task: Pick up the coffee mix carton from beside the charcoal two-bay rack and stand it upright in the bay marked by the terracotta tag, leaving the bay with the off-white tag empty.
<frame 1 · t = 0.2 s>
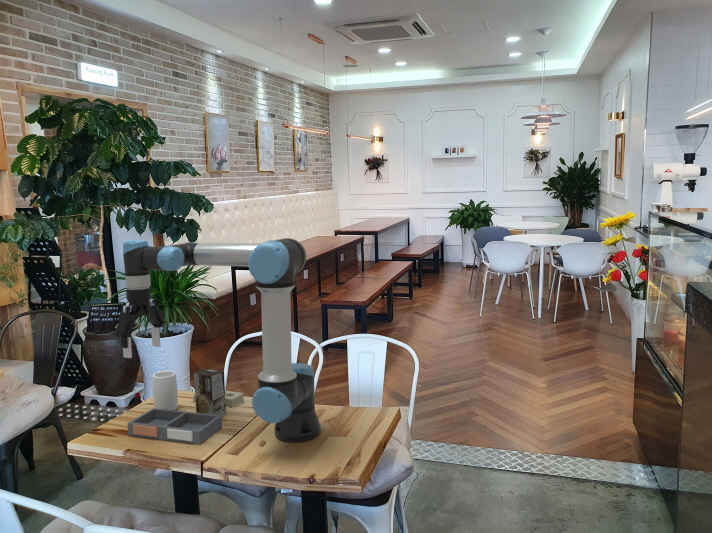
hand: (142, 351, 184), 28 cm above the table, tool pointing down, fingers open, 13 cm apart
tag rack: (175, 431, 188), on the table
electrical outlet: (218, 403, 214), on the table
cup: (166, 411, 206), on the table
coffee box: (211, 415, 202), on the table
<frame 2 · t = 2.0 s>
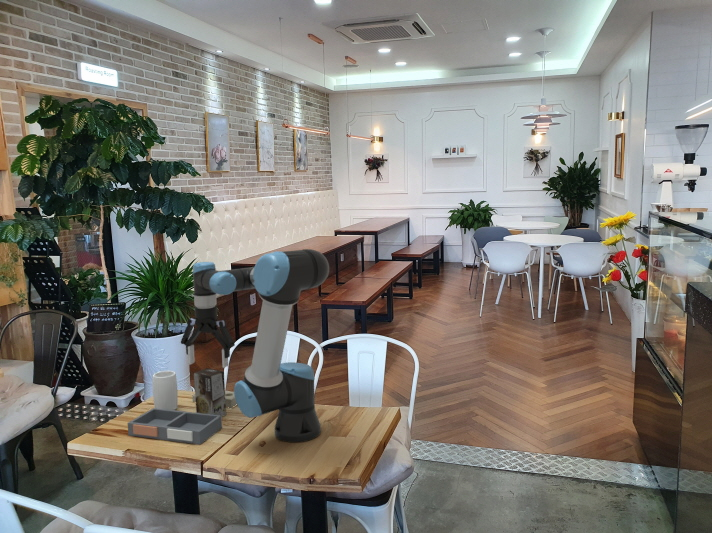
hand: (208, 365, 200), 18 cm above the table, tool pointing down, fingers open, 13 cm apart
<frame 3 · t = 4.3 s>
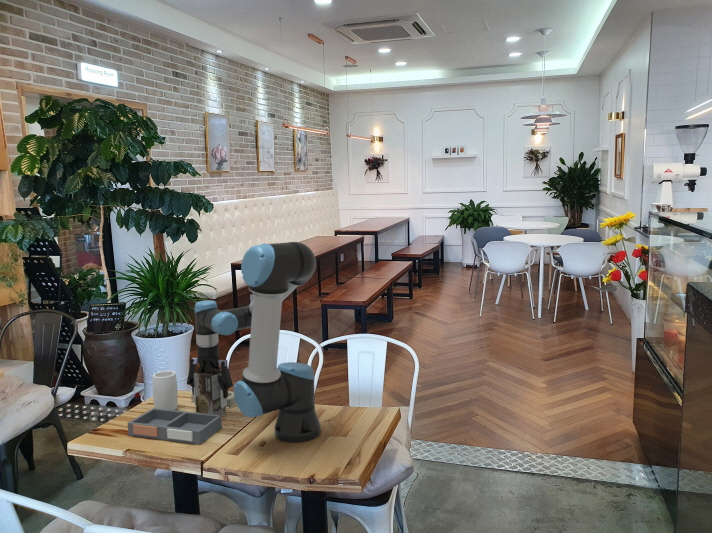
hand: (210, 405, 201), 4 cm above the table, tool pointing down, fingers closed on coffee box, 10 cm apart
coffee box: (211, 415, 202), on the table, touching gripper
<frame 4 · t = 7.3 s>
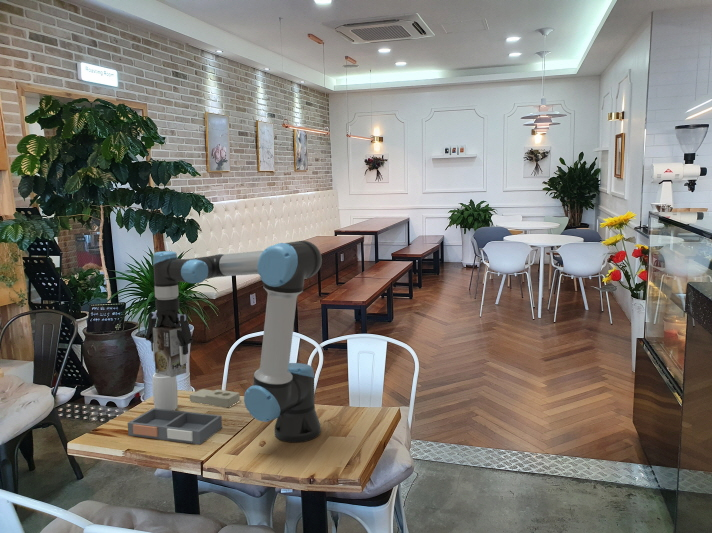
hand: (170, 362, 191), 22 cm above the table, tool pointing down, fingers closed on coffee box, 10 cm apart
coffee box: (170, 373, 191), point 18 cm above the table, touching gripper
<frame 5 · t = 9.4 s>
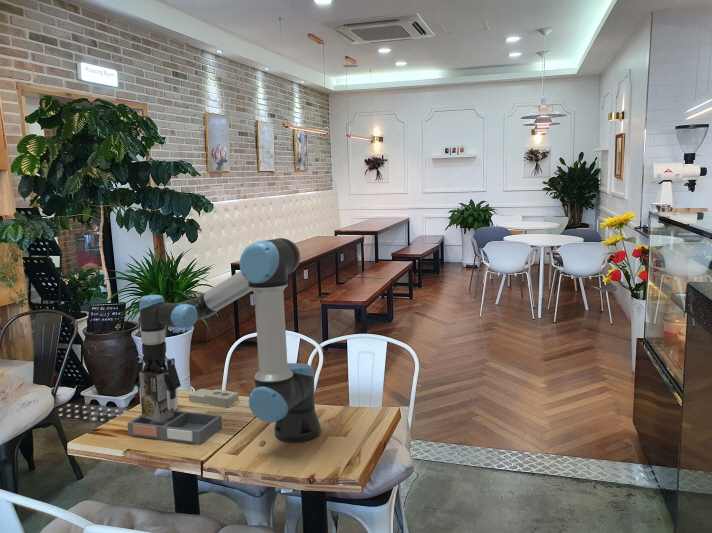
hand: (157, 406, 189), 8 cm above the table, tool pointing down, fingers closed on coffee box, 10 cm apart
coffee box: (158, 417, 190), point 4 cm above the table, touching gripper
when the fingers open (6 cm above the table, at t = 10.7 s): coffee box drops 1 cm, resting on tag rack.
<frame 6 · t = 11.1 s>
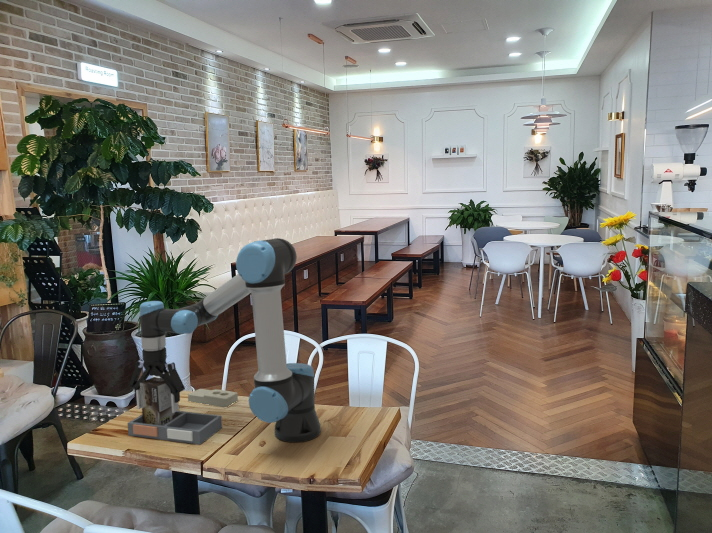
hand: (157, 409, 189), 7 cm above the table, tool pointing down, fingers open, 13 cm apart
coffee box: (159, 427, 190), point 1 cm above the table, touching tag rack
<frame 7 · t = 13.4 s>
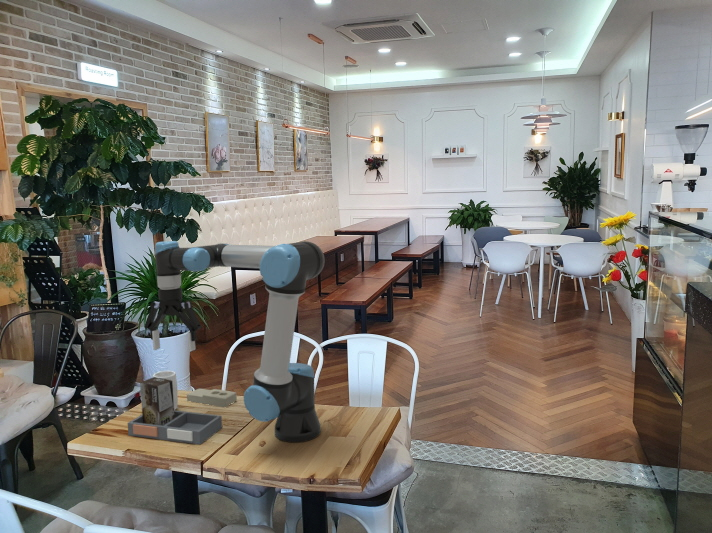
hand: (174, 349, 190), 27 cm above the table, tool pointing down, fingers open, 13 cm apart
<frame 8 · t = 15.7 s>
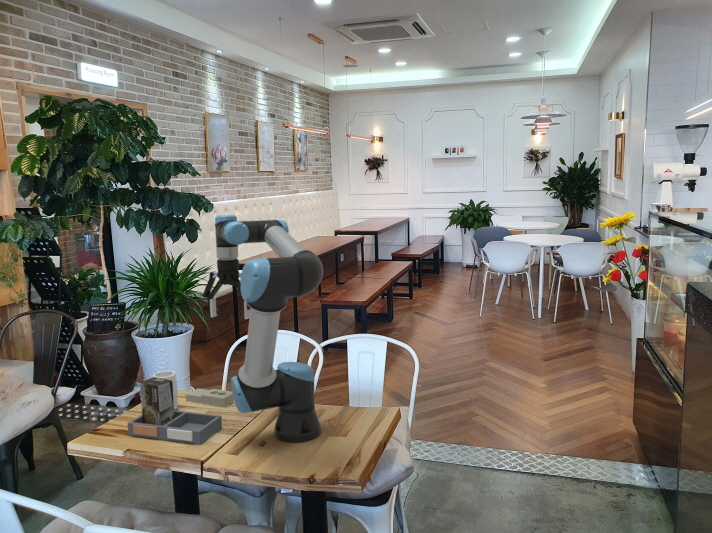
hand: (230, 317, 201), 35 cm above the table, tool pointing down, fingers open, 13 cm apart
at the end: coffee box 0.0 cm from the target spot on the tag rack, point 0.6 cm above the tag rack's base; coffee box tilted 0°; the gripper is holding nothing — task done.
